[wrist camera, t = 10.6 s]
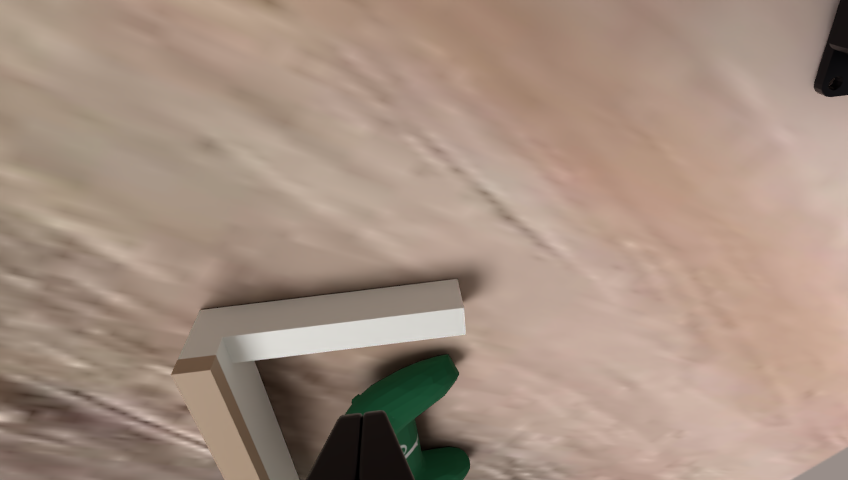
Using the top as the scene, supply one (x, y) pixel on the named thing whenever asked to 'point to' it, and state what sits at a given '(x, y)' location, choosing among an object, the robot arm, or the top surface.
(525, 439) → the top surface
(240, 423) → the frame
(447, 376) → the gaming controller
